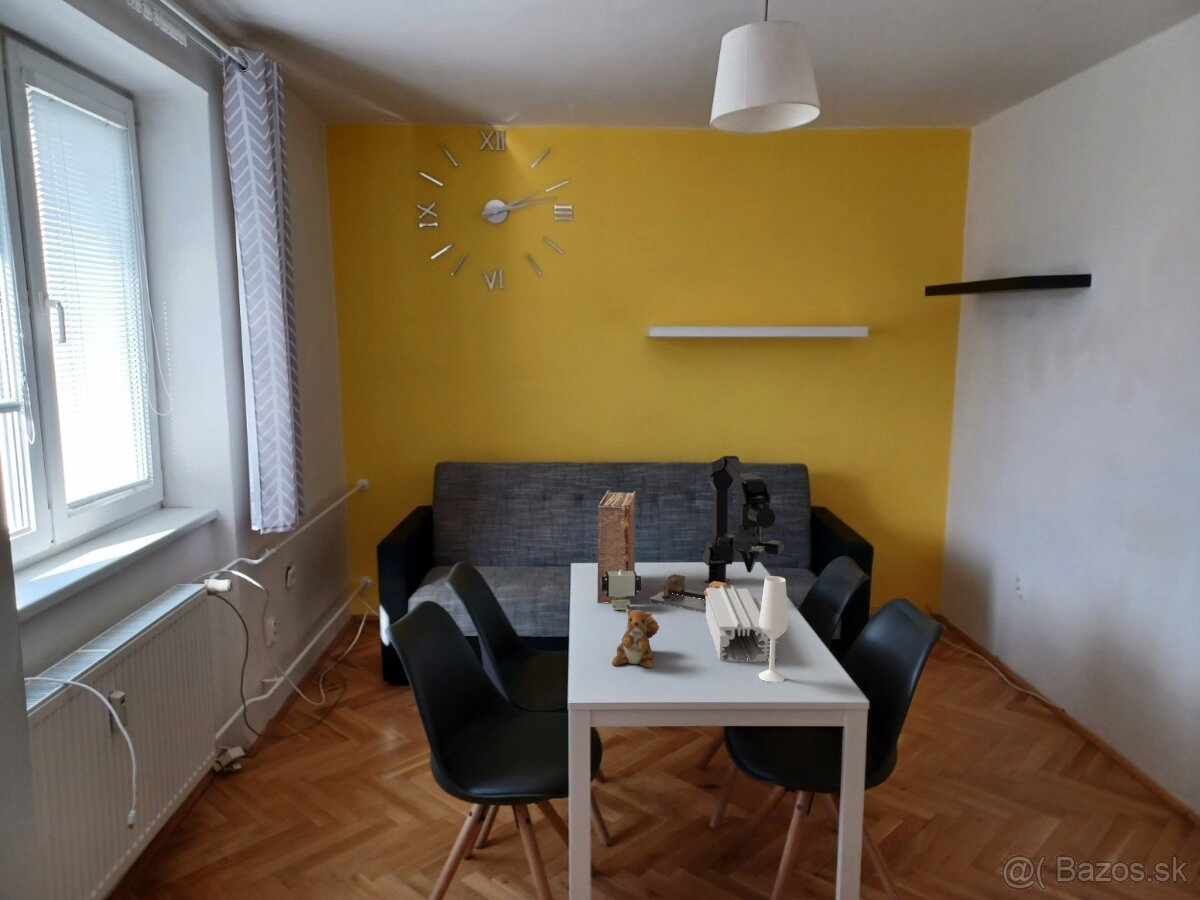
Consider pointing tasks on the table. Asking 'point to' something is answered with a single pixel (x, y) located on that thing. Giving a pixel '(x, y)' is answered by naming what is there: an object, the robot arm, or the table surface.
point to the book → (615, 536)
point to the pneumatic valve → (620, 587)
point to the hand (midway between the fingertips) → (749, 572)
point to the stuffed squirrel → (637, 640)
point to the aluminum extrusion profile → (736, 625)
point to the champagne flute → (773, 619)
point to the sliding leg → (715, 586)
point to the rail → (689, 593)
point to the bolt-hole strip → (680, 601)
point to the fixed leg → (674, 583)
